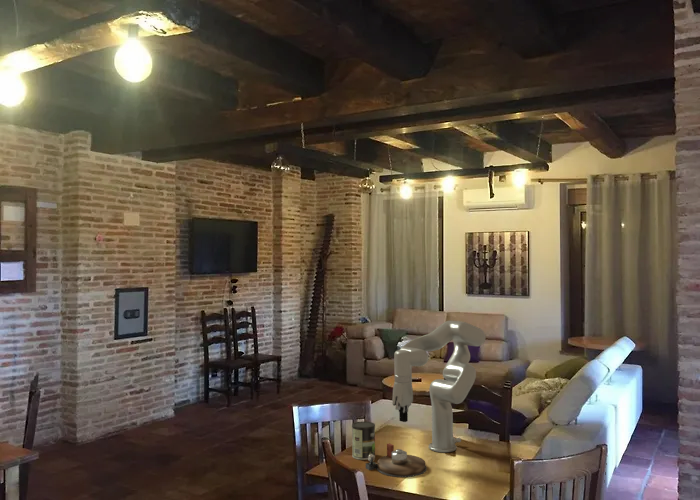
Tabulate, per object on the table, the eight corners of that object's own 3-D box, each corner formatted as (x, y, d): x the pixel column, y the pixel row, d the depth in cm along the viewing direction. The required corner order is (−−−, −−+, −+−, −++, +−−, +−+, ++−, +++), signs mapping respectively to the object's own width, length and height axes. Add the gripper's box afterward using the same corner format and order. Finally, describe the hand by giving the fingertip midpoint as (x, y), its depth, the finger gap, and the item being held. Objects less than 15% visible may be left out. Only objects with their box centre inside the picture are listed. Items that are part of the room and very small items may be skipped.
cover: (401, 458, 248) (400, 446, 248) (409, 463, 242) (409, 451, 243) (388, 461, 245) (388, 449, 245) (397, 465, 239) (397, 453, 239)
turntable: (407, 456, 257) (407, 440, 258) (435, 469, 240) (435, 452, 240) (368, 463, 248) (368, 447, 248) (394, 478, 230) (394, 461, 230)
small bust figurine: (373, 466, 246) (373, 452, 246) (377, 468, 243) (377, 454, 244) (365, 468, 244) (365, 454, 244) (369, 470, 241) (369, 456, 242)
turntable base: (407, 456, 258) (407, 455, 258) (436, 471, 240) (436, 470, 240) (367, 464, 248) (367, 463, 248) (394, 480, 230) (394, 479, 230)
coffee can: (376, 453, 263) (376, 421, 264) (373, 460, 253) (373, 428, 253) (354, 451, 265) (354, 420, 266) (350, 459, 255) (349, 426, 256)
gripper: (405, 375, 262) (405, 416, 262) (386, 380, 250) (386, 423, 250) (419, 377, 257) (419, 418, 257) (400, 382, 246) (401, 426, 245)
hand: (403, 421), depth 254 cm, fingers closed
